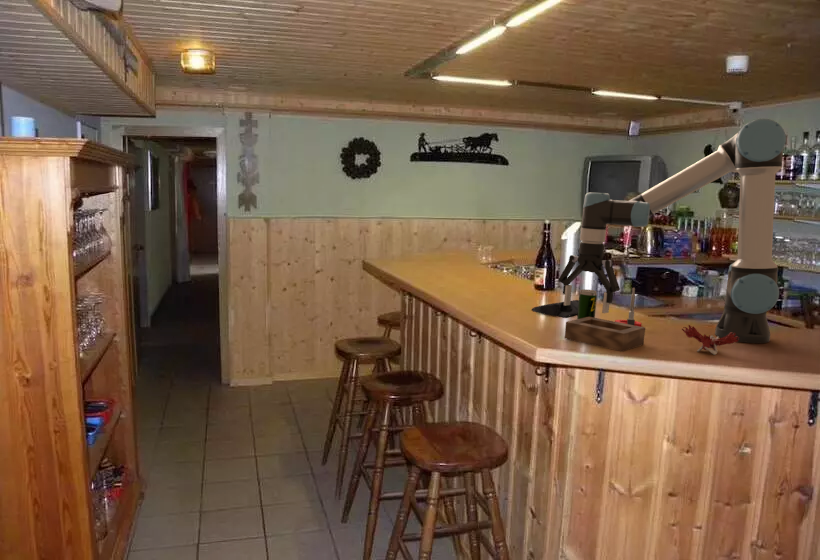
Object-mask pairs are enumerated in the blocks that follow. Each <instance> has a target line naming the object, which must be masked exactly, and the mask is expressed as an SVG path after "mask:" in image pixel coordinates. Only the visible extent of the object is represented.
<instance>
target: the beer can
mask: <svg viewBox="0 0 820 560" xmlns="http://www.w3.org/2000/svg"><path fill="white" fill-rule="evenodd" d="M579 291H580V292H579V294H578V300H579V303H578V314H577V315H576V316H577V317H576V319H581V318H585V317H594V318H596V311H597V308H596V307H597V296H598V294H597V290H594V289H585V288H584V289H580V290H579Z"/></svg>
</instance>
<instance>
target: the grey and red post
mask: <svg viewBox="0 0 820 560" xmlns="http://www.w3.org/2000/svg"><path fill="white" fill-rule="evenodd" d="M635 291H636V288H635V287H632V290H631V295H630V306H629V311H628V318H626V319H615V320H614V322H619V323H624V324H629V325H634V326H640V327H642V322H640V321H636V320H635V299H636V292H635Z"/></svg>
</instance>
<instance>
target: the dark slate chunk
mask: <svg viewBox="0 0 820 560" xmlns="http://www.w3.org/2000/svg"><path fill="white" fill-rule="evenodd" d="M578 303H579V299H575V300H571V302H570V305H566V306H565V305H564V301H561V302H560V301H559V302H554V303H548V304H544V305H543V304H542V305H538V306H537V305H536V306H534V307H532V308H531V311H532V312H534V313H538V314H543V315H545V316H546V315H547V316H552V317H559V318H561V317H562V318H569V317H572V316H573V317H574V316H577V315H578Z"/></svg>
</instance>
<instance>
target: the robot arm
mask: <svg viewBox="0 0 820 560" xmlns="http://www.w3.org/2000/svg"><path fill="white" fill-rule="evenodd" d="M786 142H787V135H786V132H785V130H784V128H783V126H782V125H781V124H780V123H778V122H777V121H775V120H773V119H770V118H757V119H752V120H750V121H748V122H745V124H744V125H742V127H740V129H739V130H738V131H737V133H736V134H734V135H733V136H732V137H731V138H729V139H728V140H726V141H725V142H723V143H721V144H719V146H718V148H717V150H716V151H714V152H712V153H711V154H709V155H707V156H705V157H703V158H702V159H700V160H698V161H697V162H695V163H693V164H691V165H690V166H687V167H686V168H684V169H682V170H681V171H679V172H677V173H675V174H674V175H672V176H670V177H668V178H667V179H665V180H663V181H661V182H660V183H658V184H656V185H654V186H653V187H651V188H649V189H647V190H645V191H644V192H642V193H640V194H639V195H636V196H635V197H633V198H632V199H629V200H617V199H611V198H610V197H611V196H610V194H609V193H608V192H607V193H606V192H587V193H586V194H584V199H583V200H584V201H583V206H582V215H581V216H582V217H581V219H582V220H581V228H580V237H579V240H580V241H581V242H579V248H578V254H579V256H578V255H576V254H573V255H572V254H571V255H569V257H568V262H567V264H566V265H565V267H564V269H563V271H562V272H561V274H560V276H559V277H558V280H557V281H558V282H559V283H562V285H563V288H562V295H564V301H563V302H564V305H565V306H566V305H570V302H571V301H572V292H573V291H572V290H573V285H572V282H574V280H575V279H576V278H577V277H578V276H579V275H580V274H581V273H582V272H588V273H594V274H595V275H596V276H597V278H598V279H599V281H600V282H601V284H602V285H603V287H604V289H605V291H604V293H603V300H602V310H601V313H602V314H607V313H609V312H610V311H609V310H610V304H612V303H613V298H614V293H615V292H619V291H620V290H621V288H620V285H619V282H618V280H617V279H618V278H617V276H616V273H615V271H614V268H613V266H614V265H613V264H614V263H613V260H612V259H608V260H604V255H605V242H606V234H607V226H608V225H617V226H626V227H627V226H628V227H634V228H639V227H641V228H643V227H644V228H645V227H647V226H648V225H649V219H650V217H651V216H653V215H654V214H656V213H658V212H659V211H662V210H663V209H666V208H667V207H669V206H671V205H673V204H674V203H676V202H677V201H679V200H681V199H683V198H685V197H687V196H689V195H690V194H691V195H692V193H695V192H696V191H698V190H700V189H702V188H703V187H705V186H707V185H709V184H711V183H712V182H715V181H716V180H718V179H720V178H722V177H723V176H725V175H727V174H730V173H738V174H739V176H740V179H739V180H740V182H739V183H740V184H739V211H738V212H739V213H738V234H737V235H738V236H737V237H738V239H737V258H736V260H735V261H733V263H731V264H730V265H729V268H728V271H727V275H728V276H727V283H726V289H725V290H726V291H725V292H726V293H725V297H724V298H725V299H724V307H723V308H724V310H723V312H722V314H721V316H720V318H719V320H718V322H717V324H716V327H715V332H714V335H716V337H717V336H719V338H723V337H725V336H727V335H728V334H729V333H730V332H733V333H732V334H734V332H735V334H736V335H735V336H734V337H736V336H737V337H739V338H737V340H738V339H739V340H738V342H739V343H740V342H741V343H749V344H765V343H767V344H768V343H769V342H770V340H771V331H770V330H771V329H770V326H769V322H768V318H767V314H768V313H767V312H768V311H770V310H771V309H773V307H774V306H775V305H776V304H777V302H778V300H779V297H780V289H779V286H778V265H777V264H776V263H775V261H774V260H773V236H774V235H773V234H774V214H775V213H774V212H775V211H774V210H775V191H776V189H775V188H776V174H777V173H778V172H780V170H781V169H782V168H783V154H784V153H783V152H784V149H785V146H786ZM577 262H578V265H577V267H575V265H576V263H577ZM603 267H604V268H605V269H603ZM574 268H575V269H574ZM573 269H574V270H573ZM572 270H573V271H572ZM604 270H605V271H604ZM605 272H606V274H607V275H606V274H605Z"/></svg>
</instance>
